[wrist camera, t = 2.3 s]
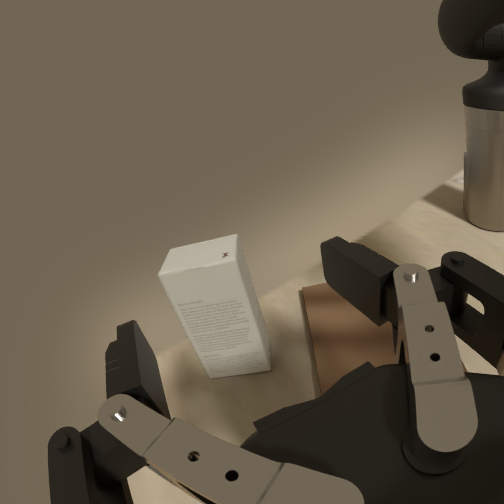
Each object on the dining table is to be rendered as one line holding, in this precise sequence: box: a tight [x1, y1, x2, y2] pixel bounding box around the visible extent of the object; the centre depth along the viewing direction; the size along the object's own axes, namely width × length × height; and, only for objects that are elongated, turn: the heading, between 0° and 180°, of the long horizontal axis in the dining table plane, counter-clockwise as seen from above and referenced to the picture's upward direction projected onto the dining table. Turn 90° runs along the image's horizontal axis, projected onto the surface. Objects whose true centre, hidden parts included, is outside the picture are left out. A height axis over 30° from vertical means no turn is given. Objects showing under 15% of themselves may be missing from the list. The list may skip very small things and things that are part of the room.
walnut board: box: [302, 283, 468, 396], centre depth 26 cm, size 18×12×1 cm, turn 179°
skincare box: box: [158, 234, 271, 379], centre depth 26 cm, size 6×4×12 cm
